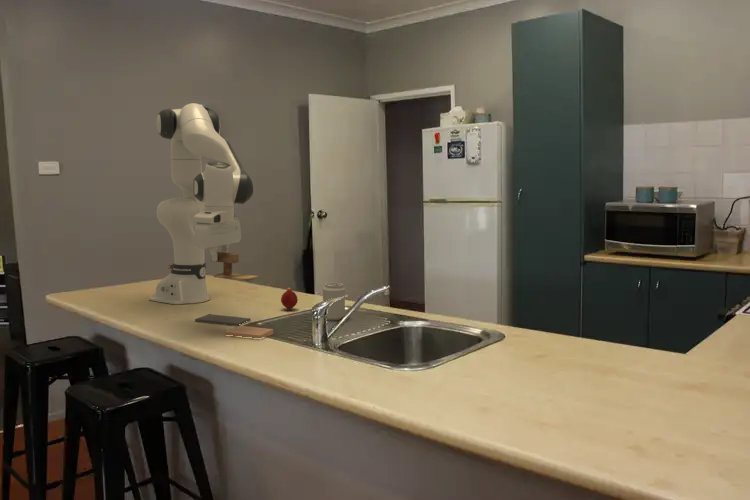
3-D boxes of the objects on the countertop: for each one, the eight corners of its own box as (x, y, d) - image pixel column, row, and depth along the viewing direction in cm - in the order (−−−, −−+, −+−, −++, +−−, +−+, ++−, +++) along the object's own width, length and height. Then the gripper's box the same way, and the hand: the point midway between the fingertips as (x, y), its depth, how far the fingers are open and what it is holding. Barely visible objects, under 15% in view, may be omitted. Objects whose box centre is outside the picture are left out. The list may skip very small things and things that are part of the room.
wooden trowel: (208, 276, 198) (208, 253, 197) (219, 273, 204) (219, 251, 203) (247, 281, 193) (248, 257, 192) (258, 277, 199) (258, 254, 198)
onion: (298, 308, 234) (299, 286, 233) (295, 311, 228) (295, 289, 227) (283, 307, 235) (283, 286, 234) (279, 311, 229) (279, 289, 228)
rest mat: (195, 321, 212) (195, 319, 212) (209, 316, 220) (209, 314, 219) (237, 326, 207) (237, 323, 207) (250, 320, 214) (250, 318, 214)
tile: (224, 331, 194) (260, 335, 190) (239, 325, 202) (273, 329, 198) (225, 337, 194) (260, 341, 191) (239, 331, 202) (273, 335, 198)
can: (349, 318, 219) (349, 283, 218) (333, 322, 214) (333, 286, 212) (334, 315, 224) (334, 281, 223) (318, 318, 219) (318, 283, 218)
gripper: (229, 212, 209) (229, 255, 210) (190, 217, 190) (190, 263, 191) (246, 213, 206) (246, 256, 208) (208, 218, 187) (208, 265, 189)
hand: (219, 260), depth 200 cm, fingers closed on wooden trowel, 3 cm apart
